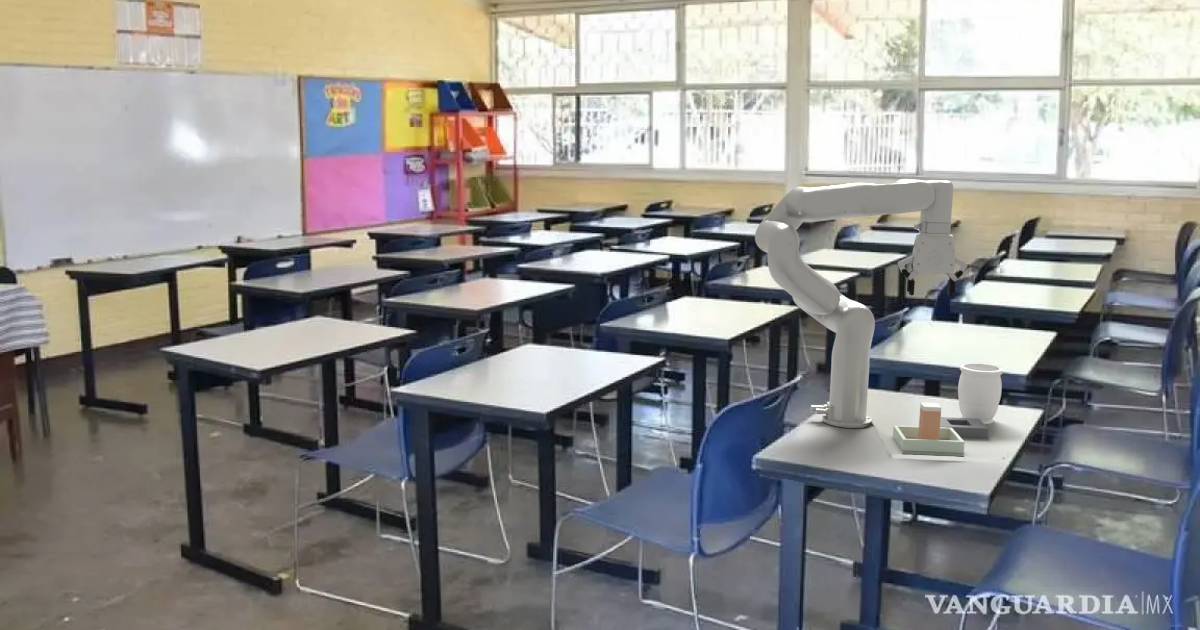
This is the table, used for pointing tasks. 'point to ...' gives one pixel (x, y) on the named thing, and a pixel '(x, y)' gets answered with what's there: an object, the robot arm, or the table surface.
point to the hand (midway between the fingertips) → (930, 295)
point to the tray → (949, 445)
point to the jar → (979, 391)
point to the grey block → (966, 427)
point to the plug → (929, 421)
